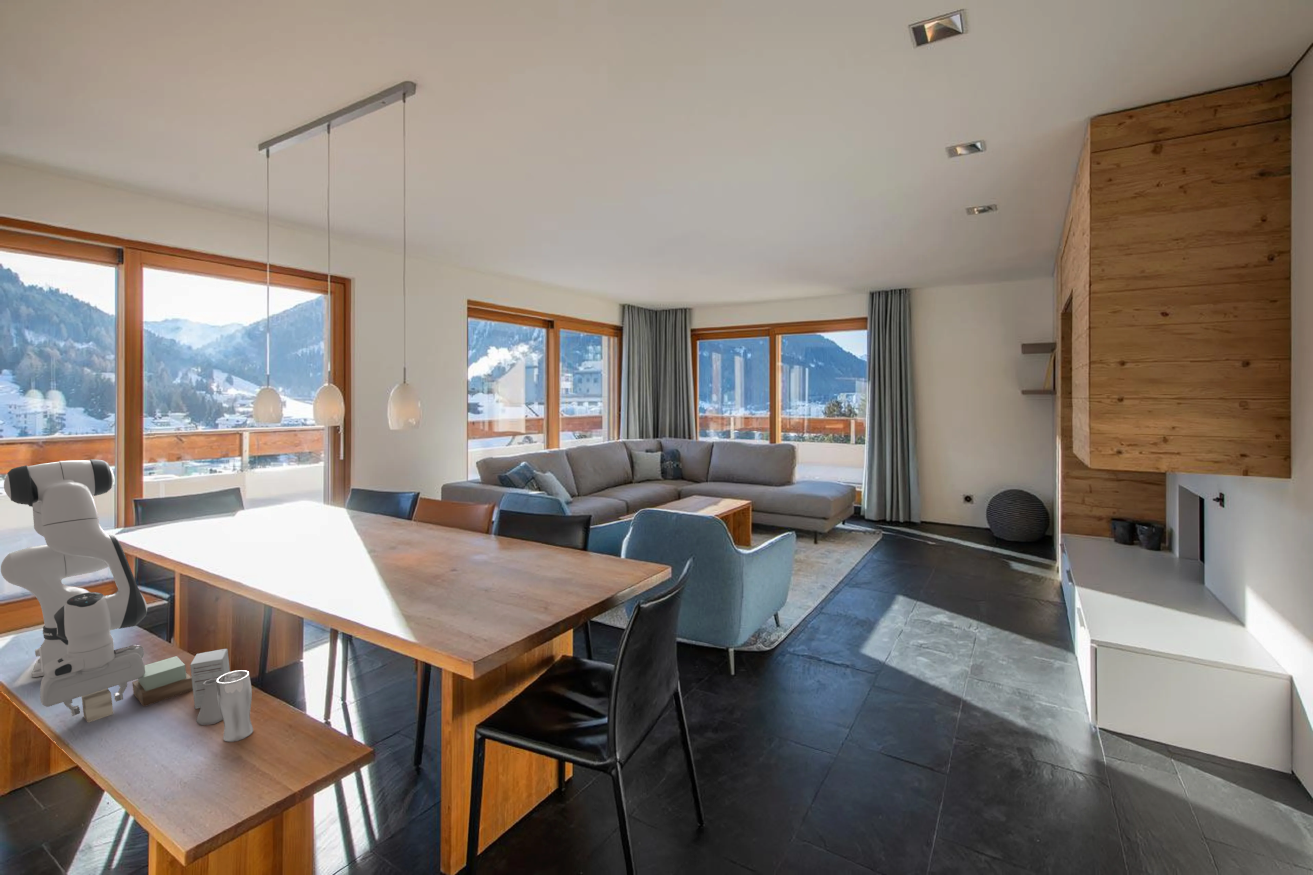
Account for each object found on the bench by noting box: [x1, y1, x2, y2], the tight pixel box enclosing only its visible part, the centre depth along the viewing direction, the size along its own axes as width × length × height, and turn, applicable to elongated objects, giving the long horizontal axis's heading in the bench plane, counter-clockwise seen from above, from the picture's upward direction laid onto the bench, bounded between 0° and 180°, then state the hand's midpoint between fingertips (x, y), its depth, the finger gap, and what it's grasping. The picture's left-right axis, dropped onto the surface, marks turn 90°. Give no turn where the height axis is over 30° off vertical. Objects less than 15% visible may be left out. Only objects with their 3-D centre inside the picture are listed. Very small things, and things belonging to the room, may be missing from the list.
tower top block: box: [137, 655, 187, 691], centre depth 172 cm, size 9×9×4 cm
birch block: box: [81, 688, 114, 723], centre depth 160 cm, size 5×5×6 cm
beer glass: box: [217, 669, 254, 743], centre depth 149 cm, size 7×7×15 cm
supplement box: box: [189, 648, 231, 710], centre depth 167 cm, size 7×7×13 cm
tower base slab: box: [131, 672, 193, 707], centre depth 172 cm, size 11×11×4 cm
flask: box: [195, 679, 223, 726], centre depth 158 cm, size 7×7×10 cm
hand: (97, 706), depth 160 cm, fingers open, 7 cm apart
